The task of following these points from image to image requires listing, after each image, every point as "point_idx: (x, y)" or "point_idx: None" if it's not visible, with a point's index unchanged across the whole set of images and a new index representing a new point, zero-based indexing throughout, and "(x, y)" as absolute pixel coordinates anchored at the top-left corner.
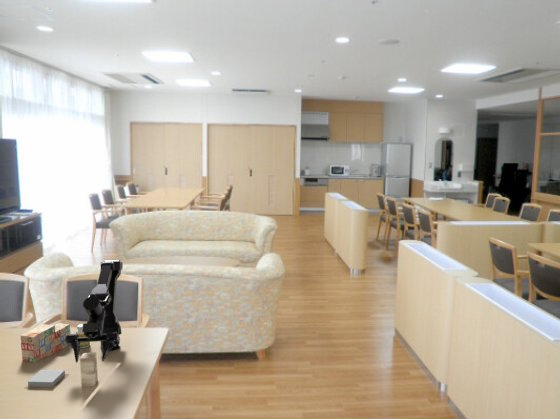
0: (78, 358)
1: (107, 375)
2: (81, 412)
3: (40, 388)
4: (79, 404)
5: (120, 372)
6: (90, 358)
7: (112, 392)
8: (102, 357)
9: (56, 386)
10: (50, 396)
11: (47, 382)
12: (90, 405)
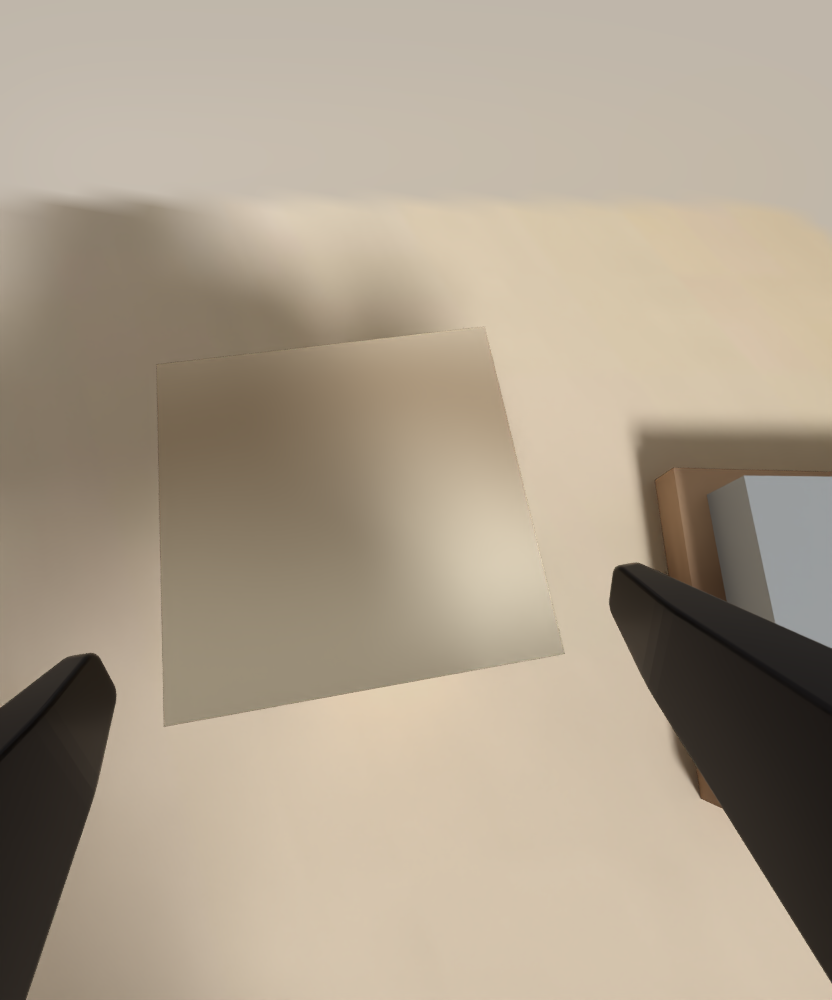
0: (659, 700)
1: (264, 883)
2: (281, 221)
3: (806, 471)
4: (340, 311)
5: (109, 995)
6: (229, 365)
7: (107, 493)
8: (52, 689)
9: (682, 511)
10: (645, 416)
11: (793, 477)
12: (245, 300)
